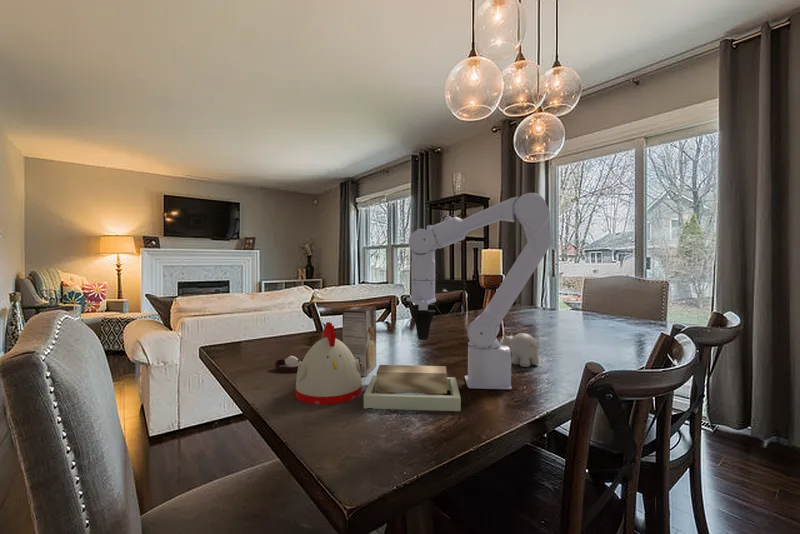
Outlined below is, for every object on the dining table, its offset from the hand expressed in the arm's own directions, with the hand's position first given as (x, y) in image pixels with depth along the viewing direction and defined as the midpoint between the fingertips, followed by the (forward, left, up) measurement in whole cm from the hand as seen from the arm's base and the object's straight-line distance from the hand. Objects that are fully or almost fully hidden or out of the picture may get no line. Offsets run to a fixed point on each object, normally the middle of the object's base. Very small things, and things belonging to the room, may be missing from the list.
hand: (422, 336), depth 92 cm
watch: (+34, -3, -10) cm, 36 cm away
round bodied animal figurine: (-26, -15, -10) cm, 32 cm away
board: (+2, +14, -8) cm, 16 cm away
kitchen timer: (+20, +12, -10) cm, 25 cm away
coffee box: (+16, -4, -10) cm, 19 cm away
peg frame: (+2, +14, -10) cm, 17 cm away
